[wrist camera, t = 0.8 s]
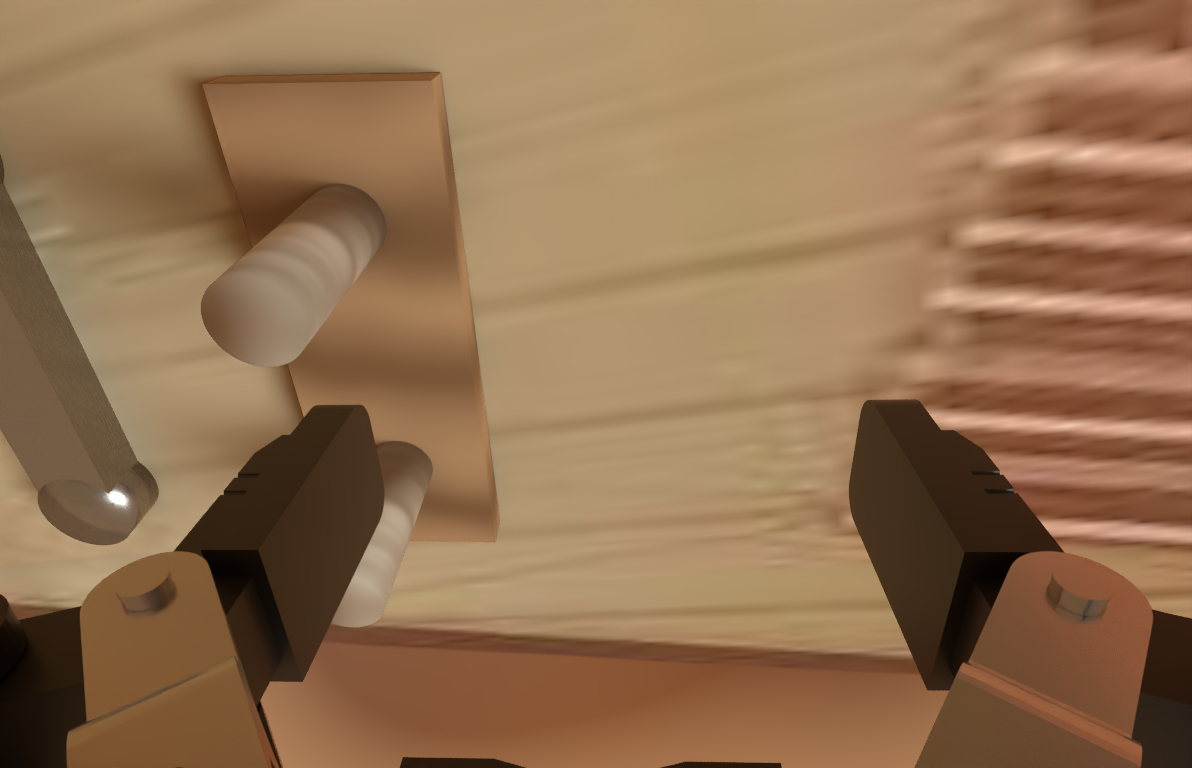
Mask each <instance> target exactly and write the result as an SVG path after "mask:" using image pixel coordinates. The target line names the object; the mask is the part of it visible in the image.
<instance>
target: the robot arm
mask: <svg viewBox="0 0 1192 768" xmlns="http://www.w3.org/2000/svg"><path fill="white" fill-rule="evenodd" d="M999 472H1000V470H999V469H998V468H997V467H996V465H995V464H994V463H993V462H992V460H991V459H990V458H989V457H988V455H987V454H986V453H985V451H984V450H983V449H982V448H980V447H979V446H977V445H976V444H974V443H973V442H971V441H970V440H968V439H966V438H965V437H963V436H962V435H960V434H959V433H957V432H956V431H954V430H940V428H939V427H938V426H937V424H936V423H935V421H934V420H933V419H932V417H931V416H930V415H929V413H928V412H927V411H926V409H925V408H924V406H923V405H922V404H921V403H920V401H918V400H915V399H913V400H867V401H866V402H865V403H864V405H863V407H862V410H861V414H860V420H859V426H858V432H857V438H856V445H855V451H854V457H853V463H852V469H851V475H850V483H849V500H850V508H851V513H852V517H853V520H854V522H855V525H856V527H857V529H858V532H859V534H860V536H861V539H862V541H863V543H864V546H865V548H866V550H867V552H868V555H869V557H870V559H871V562H872V564H873V566H874V569H875V571H876V573H877V575H878V578H879V580H880V582H881V585H882V587H883V589H884V592H885V594H886V596H887V599H888V601H889V603H890V605H891V608H892V610H893V612H894V615H895V617H896V619H897V622H898V624H899V626H900V628H901V631H902V633H903V635H904V638H905V640H906V642H907V645H908V647H909V649H910V652H911V654H912V656H913V658H914V661H915V663H916V665H917V668H918V670H919V672H920V675H921V677H922V679H923V681H924V684H925V686H926V688H927V690H949V693H948V695H947V697H946V699H945V701H944V704H943V706H942V708H941V710H940V713H939V715H938V717H937V719H936V721H935V723H934V726H933V728H932V730H931V732H930V735H929V737H928V739H927V741H926V743H925V746H924V748H923V750H922V752H921V754H920V757H919V759H918V761H917V764H916V766H915V768H1192V619H1191V618H1186V617H1182V616H1177V615H1172V614H1168V613H1164V612H1160V611H1156V610H1152V609H1151V606H1150V604H1149V603H1148V601H1147V599H1146V598H1145V596H1144V595H1143V594H1142V593H1141V592H1140V590H1139V589H1137V588H1136V587H1135V586H1134V585H1133V584H1132V583H1131V582H1130V581H1128V580H1127V579H1126V578H1124V577H1123V576H1121V575H1120V574H1118V573H1117V572H1115V571H1113V570H1112V569H1110V568H1108V567H1106V566H1104V565H1102V564H1100V563H1097V562H1095V561H1092V560H1090V559H1087V558H1083V557H1080V556H1077V555H1073V554H1068V553H1064V551H1063V550H1062V549H1061V547H1060V546H1059V545H1058V544H1057V542H1056V541H1055V540H1054V539H1053V537H1052V536H1051V535H1050V534H1049V532H1048V531H1047V530H1046V529H1045V527H1044V526H1043V525H1042V523H1041V522H1040V521H1039V520H1038V518H1037V517H1036V516H1035V515H1034V513H1033V512H1032V511H1031V510H1030V508H1029V507H1028V506H1027V505H1026V503H1025V502H1024V501H1023V499H1022V498H1021V497H1020V496H1019V494H1018V493H1014V488H1013V487H1012V486H1011V484H1010V483H1009V482H1008V481H1007V479H1006V478H1005V477H1004V475H1000V473H999ZM384 495H385V493H384V482H383V477H382V472H381V468H380V463H379V459H378V454H377V449H376V445H375V440H374V435H373V431H372V426H371V422H370V417H369V414H368V412H367V410H366V408H365V407H364V406H363V405H315V406H313V407H312V408H311V409H310V411H309V412H308V413H307V414H306V416H305V417H304V418H303V420H302V421H301V422H300V423H299V425H298V426H297V427H296V428H295V430H294V431H293V432H292V434H291V435H282V436H280V437H279V438H277V439H276V440H274V441H273V442H271V443H270V444H268V445H267V446H265V447H263V448H262V449H260V450H259V451H257V452H256V453H255V454H254V455H253V456H252V457H251V459H250V460H249V461H248V462H247V463H246V465H245V466H244V467H243V468H242V469H241V471H240V472H239V473H238V478H234V479H233V480H232V482H231V483H230V484H229V485H228V486H227V488H226V489H225V490H224V495H220V496H219V497H218V498H217V500H216V501H215V502H214V503H213V504H212V506H211V507H210V508H209V509H208V510H207V512H206V513H205V514H204V515H203V517H202V518H201V519H200V520H199V521H198V523H197V524H196V525H195V526H194V527H193V529H192V530H191V531H190V532H189V533H188V535H187V536H186V537H185V538H184V539H183V541H182V542H181V543H180V544H179V545H178V547H177V548H176V549H175V550H174V552H165V553H160V554H155V555H151V556H148V557H145V558H142V559H139V560H137V561H134V562H132V563H130V564H128V565H126V566H124V567H122V568H120V569H118V570H117V571H115V572H113V573H112V574H110V575H109V576H108V577H106V578H105V579H104V580H102V581H101V582H100V583H99V584H98V585H97V586H96V587H94V588H93V590H92V591H91V592H90V593H89V594H88V596H87V597H86V599H85V600H84V602H83V604H82V606H80V607H76V608H71V609H67V610H62V611H58V612H53V613H49V614H44V615H40V616H35V617H31V618H26V619H22V620H18V618H17V617H16V615H15V613H14V611H13V610H12V608H11V606H10V604H9V603H8V601H7V599H6V598H5V597H4V596H3V595H0V768H283V765H282V762H281V759H280V756H279V753H278V750H277V747H276V744H275V741H274V738H273V734H272V731H271V728H270V725H269V722H268V719H267V716H266V713H265V710H264V708H263V705H262V703H261V698H262V696H263V694H264V692H265V690H266V688H267V686H268V684H269V682H270V681H284V682H285V681H286V682H288V681H289V682H290V681H291V682H293V681H294V682H303V680H304V678H305V676H306V674H307V672H308V670H309V667H310V665H311V663H312V661H313V659H314V657H315V655H316V653H317V651H318V649H319V647H320V645H321V642H322V640H323V638H324V636H325V634H326V632H327V630H328V628H329V626H330V624H331V622H332V620H333V617H334V615H335V613H336V611H337V609H338V607H339V605H340V603H341V601H342V599H343V597H344V595H345V592H346V590H347V588H348V586H349V584H350V582H351V580H352V578H353V576H354V574H355V572H356V569H357V567H358V565H359V563H360V561H361V559H362V557H363V555H364V553H365V551H366V549H367V547H368V544H369V542H370V540H371V538H372V536H373V534H374V532H375V530H376V528H377V526H378V524H379V522H380V519H381V516H382V512H383V507H384ZM400 768H524V767H521V766H518V765H514V764H510V763H507V762H503V761H500V760H496V759H474V758H471V759H470V758H408V757H403V759H402V762H401V766H400ZM662 768H782V767H781V763H736V762H683V763H679V764H675V765H670V766H666V767H662Z"/></svg>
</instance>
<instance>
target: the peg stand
mask: <svg viewBox="0 0 1192 768" xmlns="http://www.w3.org/2000/svg"><path fill="white" fill-rule="evenodd" d="M202 85H203V89H204V92H205V95H206V99H207V102H208V105H209V108H210V112H211V115H212V118H213V121H214V125H215V128H216V131H217V135H218V138H219V141H220V144H221V148H222V151H223V154H224V157H225V161H226V164H227V167H228V171H229V174H230V177H231V180H232V184H233V187H234V190H235V194H236V197H237V200H238V203H239V207H240V210H241V213H242V216H243V220H244V223H245V226H246V230H247V233H248V236H249V239H250V243H251V246H252V249H251V250H250V251H249V252H247V253H246V254H245V255H244V256H243V257H242V258H241V259H239V260H238V261H237V262H236V263H235V264H234V265H233V266H231V267H230V268H229V269H228V270H227V271H226V272H225V273H223V274H222V275H221V276H220V277H219V278H218V279H217V280H216V281H214V282H213V283H212V284H211V285H210V286H209V287H208V288H207V290H206V291H205V293H204V295H203V298H202V302H201V314H202V319H203V322H204V325H205V327H206V329H207V331H208V332H209V334H210V336H211V337H212V338H213V340H214V341H215V342H216V343H217V344H218V345H219V346H220V347H221V348H222V349H223V350H225V351H226V352H227V353H229V354H230V355H232V356H233V357H235V358H237V359H239V360H241V361H243V362H246V363H248V364H252V365H255V366H261V367H276V366H282V365H285V364H288V367H289V370H290V374H291V377H292V380H293V383H294V387H295V390H296V393H297V396H298V400H299V403H300V406H301V410H302V413H303V416H304V417H305V416H306V414H307V413H308V412H309V411H310V409H311V408H312V407H313V406H315V405H363V406H364V407H365V408H366V410H367V412H368V414H369V417H370V422H371V426H372V431H373V435H374V440H375V445H376V449H377V454H378V459H379V463H380V468H381V472H382V477H383V482H384V493H385V495H384V507H383V512H382V516H381V519H380V522H379V524H378V526H377V528H376V530H375V532H374V534H373V536H372V538H371V540H370V542H369V544H368V547H367V549H366V551H365V553H364V555H363V557H362V559H361V561H360V563H359V565H358V567H357V569H356V572H355V574H354V576H353V578H352V580H351V582H350V584H349V586H348V588H347V590H346V592H345V595H344V597H343V599H342V601H341V603H340V605H339V607H338V609H337V611H336V613H335V615H334V617H333V620H332V622H331V623H333V624H336V625H340V626H345V627H363V626H367V625H370V624H372V623H374V622H376V621H377V620H379V619H380V617H381V616H382V614H383V612H384V609H385V607H386V604H387V601H388V598H389V595H390V592H391V590H392V587H393V584H394V581H395V578H396V575H397V573H398V570H399V567H400V564H401V561H402V559H403V556H404V553H405V550H406V547H407V544H408V542H409V541H441V542H496V538H497V533H498V529H499V524H500V517H499V509H498V502H497V494H496V487H495V479H494V471H493V464H492V456H491V449H490V441H489V433H488V426H487V418H486V411H485V403H484V395H483V388H482V380H481V373H480V365H479V357H478V350H477V342H476V335H475V327H474V319H473V312H472V304H471V297H470V289H469V281H468V274H467V266H466V259H465V251H464V244H463V236H462V228H461V221H460V213H459V206H458V198H457V190H456V183H455V175H454V168H453V160H452V152H451V145H450V137H449V130H448V122H447V114H446V107H445V99H444V92H443V84H442V76H441V73H381V74H321V75H260V76H222V77H219V78H217V79H214V80H212V81H209V82H207V83H204V84H202Z"/></svg>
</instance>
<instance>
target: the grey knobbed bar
mask: <svg viewBox="0 0 1192 768" xmlns="http://www.w3.org/2000/svg"><path fill="white" fill-rule="evenodd" d="M3 180H4V167H3V162H2V159H1V156H0V429H1V431H2V432H3V434H4V436H5V437H6V439H7V441H8V442H9V444H10V446H11V447H12V449H13V451H14V452H15V454H16V456H17V457H18V459H19V461H20V462H21V464H22V466H23V467H24V469H25V471H26V472H27V474H28V476H29V477H30V479H31V481H32V482H33V484H34V486H35V487H36V489H37V490H38V492H39V494H38V504H39V507H40V510H41V511H42V513H43V515H44V516H45V517H46V519H47V520H48V521H49V522H50V523H51V524H52V525H53V526H55V527H56V528H57V529H58V530H60V531H61V532H63V533H65V534H66V535H68V536H70V537H72V538H74V539H77V540H79V541H82V542H86V543H90V544H95V545H112V544H116V543H119V542H121V541H123V540H125V539H126V538H127V537H128V536H129V534H130V533H131V532H132V531H133V530H134V528H135V527H136V526H137V525H138V523H139V522H140V521H141V520H142V518H143V517H144V516H145V515H146V514H147V512H148V511H149V510H150V509H151V507H152V506H153V505H154V504H155V502H156V501H157V498H158V494H159V492H158V486H157V483H156V481H155V479H154V477H153V476H152V474H151V473H150V472H149V471H148V470H147V469H146V468H145V467H144V466H143V465H142V464H141V463H139V462H138V461H137V459H136V457H135V454H134V452H133V450H132V448H131V446H130V444H129V442H128V440H127V438H126V436H125V434H124V432H123V430H122V428H121V426H120V424H119V421H118V419H117V417H116V415H115V413H114V411H113V409H112V407H111V405H110V403H109V401H108V399H107V397H106V395H105V393H104V390H103V388H102V386H101V384H100V382H99V380H98V378H97V376H96V374H95V372H94V370H93V368H92V366H91V364H90V362H89V359H88V357H87V355H86V353H85V351H84V349H83V347H82V345H81V343H80V341H79V339H78V337H77V335H76V333H75V331H74V328H73V326H72V324H71V322H70V320H69V318H68V316H67V314H66V312H65V310H64V308H63V306H62V304H61V302H60V300H59V297H58V295H57V293H56V291H55V289H54V287H53V285H52V283H51V281H50V279H49V277H48V275H47V273H46V271H45V269H44V266H43V264H42V262H41V260H40V258H39V256H38V254H37V252H36V250H35V248H34V246H33V244H32V242H31V240H30V238H29V235H28V233H27V231H26V229H25V227H24V225H23V223H22V221H21V219H20V217H19V215H18V213H17V211H16V209H15V207H14V204H13V202H12V200H11V198H10V196H9V194H8V192H7V190H6V188H5V186H4V184H3Z"/></svg>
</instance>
